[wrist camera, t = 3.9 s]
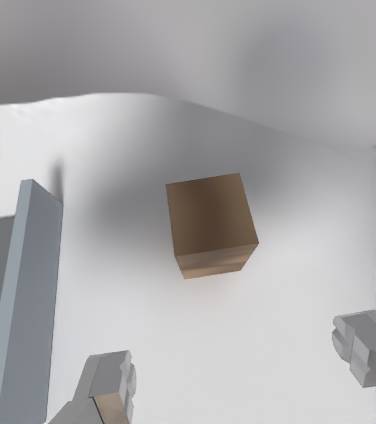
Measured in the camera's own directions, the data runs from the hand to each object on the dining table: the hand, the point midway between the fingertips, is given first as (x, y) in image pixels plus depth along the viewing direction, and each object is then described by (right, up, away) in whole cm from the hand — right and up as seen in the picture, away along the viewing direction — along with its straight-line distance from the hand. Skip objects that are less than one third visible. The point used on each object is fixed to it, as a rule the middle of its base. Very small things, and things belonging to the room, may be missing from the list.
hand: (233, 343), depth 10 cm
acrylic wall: (-14, -2, +12) cm, 19 cm away
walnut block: (0, +2, +13) cm, 13 cm away
